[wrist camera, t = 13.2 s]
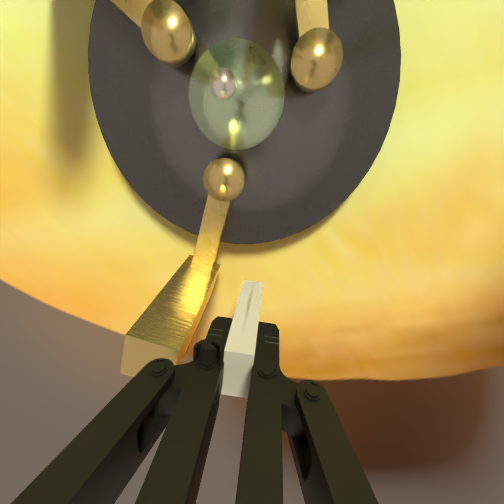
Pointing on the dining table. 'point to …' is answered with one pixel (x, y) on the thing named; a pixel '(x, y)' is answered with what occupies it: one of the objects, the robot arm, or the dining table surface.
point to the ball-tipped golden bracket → (186, 280)
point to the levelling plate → (245, 111)
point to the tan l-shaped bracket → (314, 47)
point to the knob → (162, 28)
